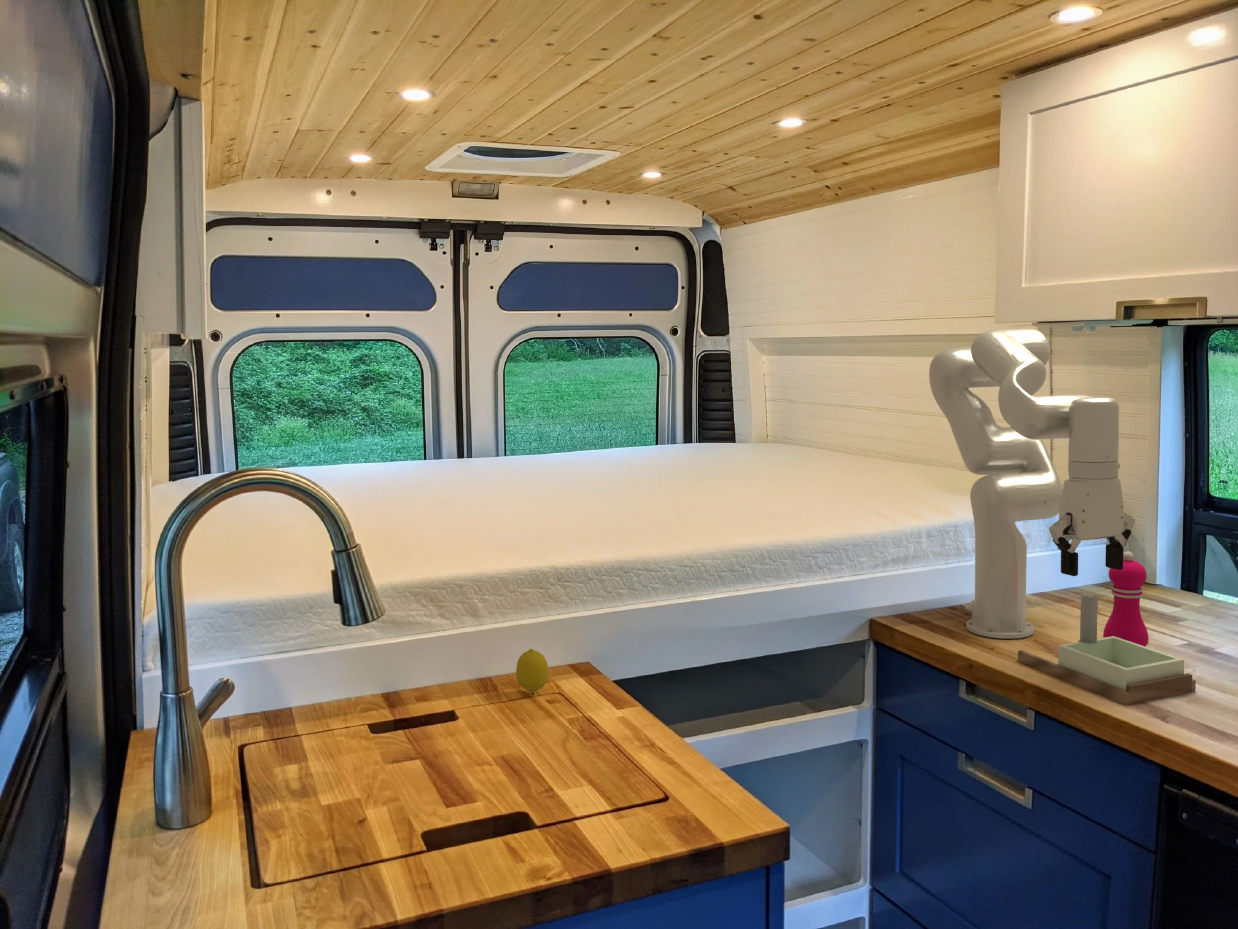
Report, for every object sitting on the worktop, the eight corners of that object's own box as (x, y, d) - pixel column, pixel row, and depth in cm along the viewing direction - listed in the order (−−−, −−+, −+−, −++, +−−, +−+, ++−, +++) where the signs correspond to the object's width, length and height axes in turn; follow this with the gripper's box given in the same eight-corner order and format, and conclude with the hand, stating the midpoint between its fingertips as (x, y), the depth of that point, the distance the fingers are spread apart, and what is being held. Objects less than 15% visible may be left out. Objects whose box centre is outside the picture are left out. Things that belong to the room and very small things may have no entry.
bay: (1017, 667, 172) (1018, 645, 172) (1081, 656, 177) (1081, 634, 177) (1125, 712, 150) (1126, 687, 150) (1195, 698, 155) (1196, 674, 155)
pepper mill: (1156, 666, 170) (1159, 555, 168) (1114, 668, 170) (1117, 556, 168) (1135, 653, 177) (1138, 546, 175) (1095, 655, 177) (1097, 547, 175)
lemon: (548, 698, 165) (546, 653, 164) (515, 700, 165) (513, 654, 164) (550, 687, 171) (548, 643, 170) (518, 688, 171) (516, 644, 170)
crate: (1054, 672, 166) (1055, 598, 164) (1108, 662, 170) (1110, 590, 168) (1125, 701, 152) (1128, 620, 150) (1183, 689, 156) (1186, 611, 154)
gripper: (1114, 465, 168) (1113, 562, 170) (1035, 473, 163) (1034, 572, 165) (1151, 469, 161) (1149, 570, 163) (1069, 477, 156) (1068, 581, 157)
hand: (1091, 571), depth 164 cm, fingers open, 9 cm apart
